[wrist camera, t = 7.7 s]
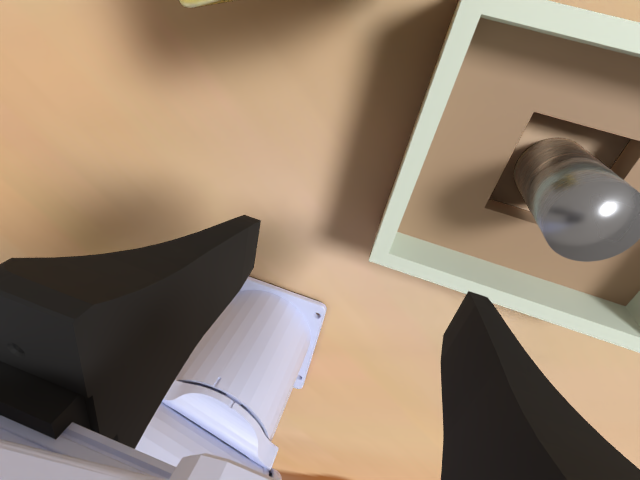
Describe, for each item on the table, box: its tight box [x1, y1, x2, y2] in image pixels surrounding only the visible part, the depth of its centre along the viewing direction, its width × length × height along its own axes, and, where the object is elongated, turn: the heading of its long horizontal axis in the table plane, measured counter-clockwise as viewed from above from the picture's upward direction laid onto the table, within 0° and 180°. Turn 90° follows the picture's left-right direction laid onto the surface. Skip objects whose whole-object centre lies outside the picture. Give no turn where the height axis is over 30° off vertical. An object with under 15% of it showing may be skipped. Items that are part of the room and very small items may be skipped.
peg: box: [514, 138, 640, 262], centre depth 16 cm, size 3×3×6 cm
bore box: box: [369, 0, 640, 353], centre depth 17 cm, size 12×14×4 cm
